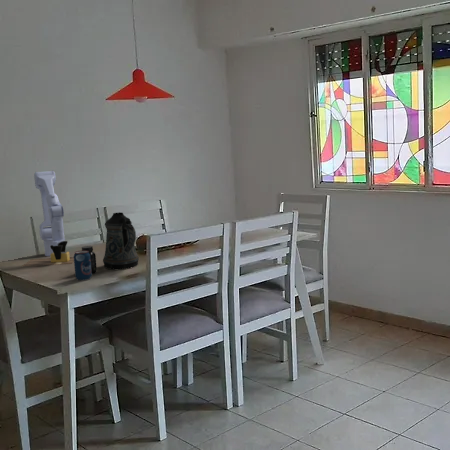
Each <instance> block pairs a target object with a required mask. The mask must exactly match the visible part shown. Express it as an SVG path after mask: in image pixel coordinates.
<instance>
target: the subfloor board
mask: <svg viewBox="0 0 450 450" xmlns="http://www.w3.org/2000/svg"><path fill="white" fill-rule="evenodd" d="M72 264H74V256H71V257H70V260H69V261H68V262H51V257H50V258H49V257H48V258H47V257H45V258H32V259H29V260H28V261H26V262H25V263H24V264H23V265H21V267H35V266H37V267H38V266H39V267H41V266H56V265H57V266H59V265H72Z"/></svg>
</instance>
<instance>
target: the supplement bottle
mask: <svg viewBox="0 0 450 450" xmlns="http://www.w3.org/2000/svg"><path fill="white" fill-rule="evenodd" d="M82 250H87V251H88V252H89V254H90V260H91V271H92V275H93V274H96V273H97V271H98V268H97V258H96V257H97V256H96V255H97V254H96V253H95V252H94V248H93V246H92V245H85V246H82V247H81V251H82Z"/></svg>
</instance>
